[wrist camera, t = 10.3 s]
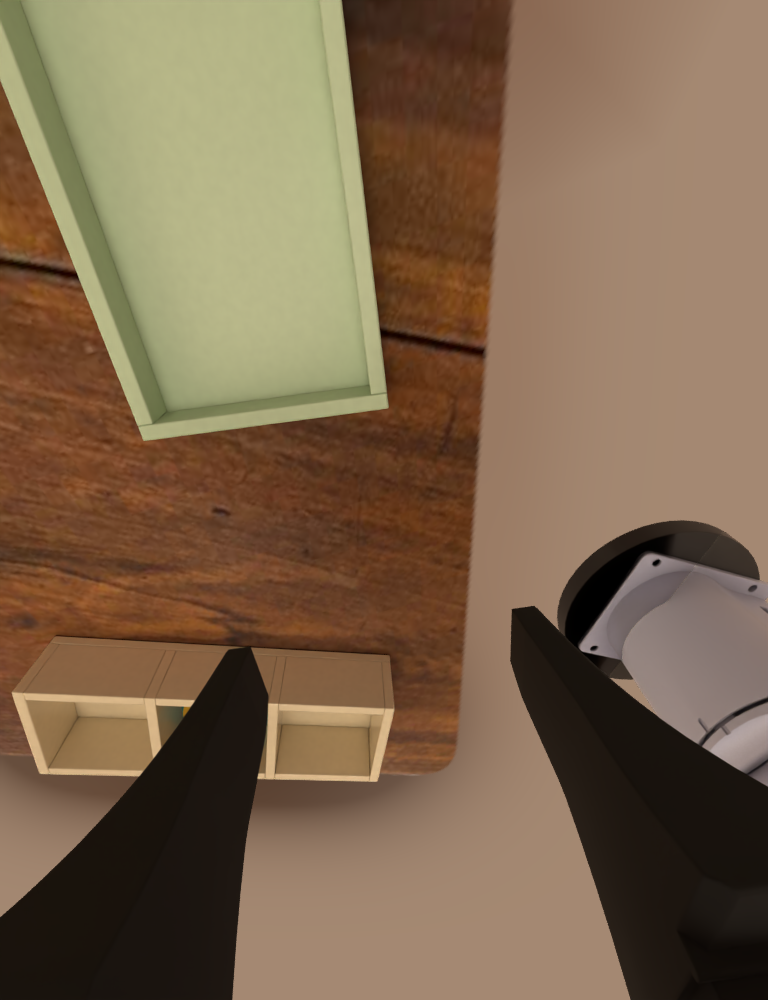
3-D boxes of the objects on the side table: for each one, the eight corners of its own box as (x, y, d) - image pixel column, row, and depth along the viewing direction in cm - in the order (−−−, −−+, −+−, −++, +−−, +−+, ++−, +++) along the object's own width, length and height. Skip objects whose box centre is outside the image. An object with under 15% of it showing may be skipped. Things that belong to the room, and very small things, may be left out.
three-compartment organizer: (389, 654, 26) (395, 709, 23) (375, 725, 29) (377, 782, 26) (54, 635, 24) (10, 692, 21) (75, 713, 27) (39, 774, 24)
